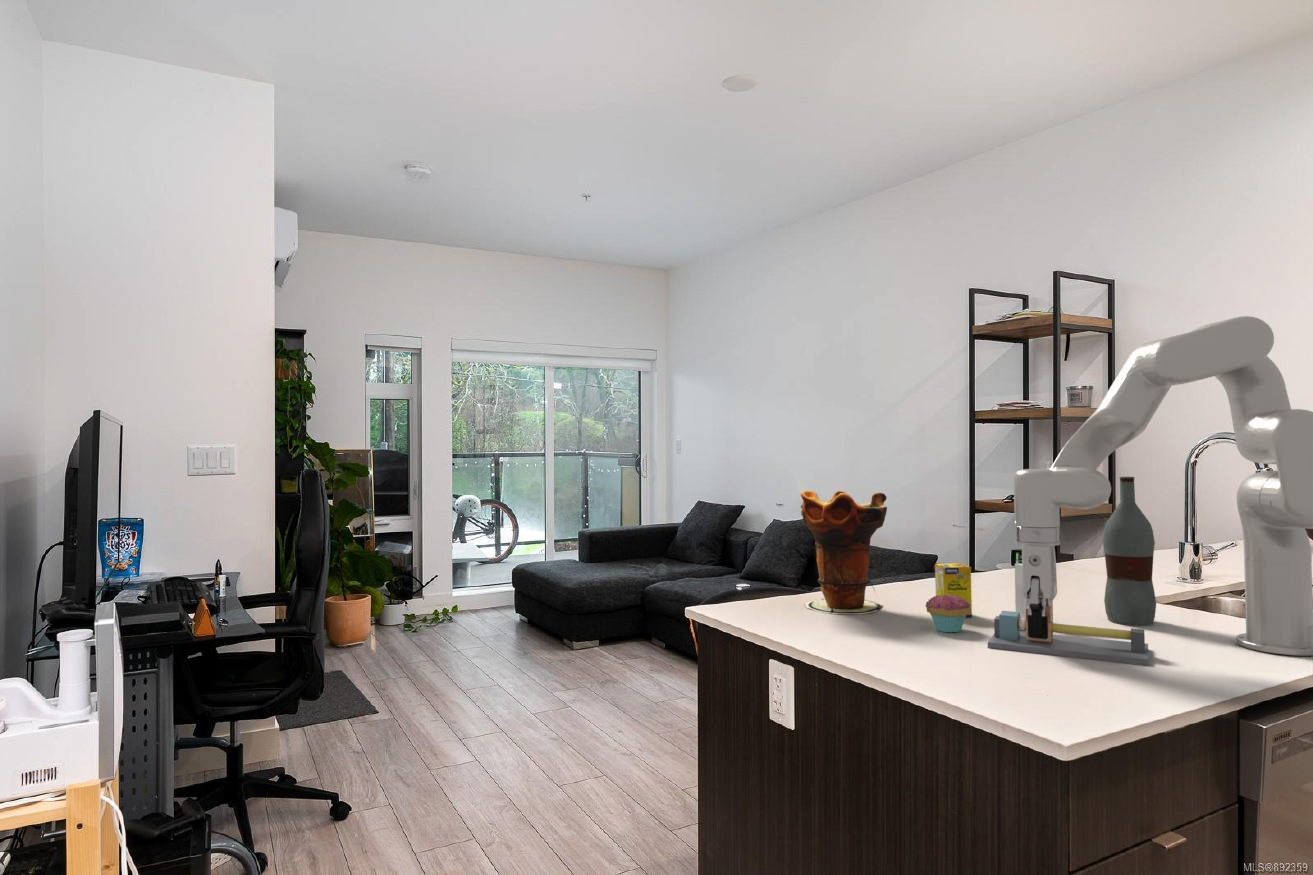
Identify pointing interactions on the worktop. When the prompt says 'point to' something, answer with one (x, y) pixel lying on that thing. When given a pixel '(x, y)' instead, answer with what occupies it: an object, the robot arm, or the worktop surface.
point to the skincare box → (1021, 593)
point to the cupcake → (948, 610)
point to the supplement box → (955, 581)
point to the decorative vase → (843, 549)
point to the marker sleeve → (1050, 620)
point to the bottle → (1129, 562)
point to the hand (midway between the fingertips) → (1039, 633)
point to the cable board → (1071, 641)
